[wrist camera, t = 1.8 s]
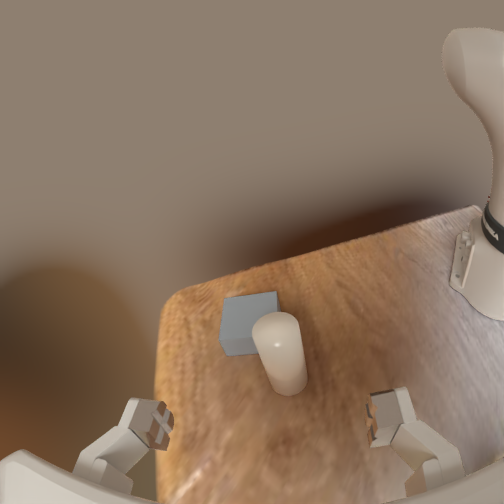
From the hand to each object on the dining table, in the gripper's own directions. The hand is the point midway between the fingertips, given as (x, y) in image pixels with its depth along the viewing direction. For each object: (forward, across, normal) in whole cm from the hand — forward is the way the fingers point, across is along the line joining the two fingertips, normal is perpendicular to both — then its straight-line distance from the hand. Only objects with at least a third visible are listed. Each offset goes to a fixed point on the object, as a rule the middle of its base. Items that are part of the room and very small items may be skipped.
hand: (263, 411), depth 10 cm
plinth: (+26, +5, +20) cm, 33 cm away
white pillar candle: (+18, 0, +21) cm, 27 cm away
